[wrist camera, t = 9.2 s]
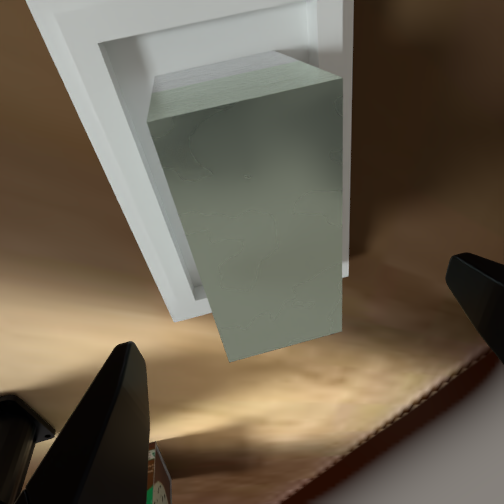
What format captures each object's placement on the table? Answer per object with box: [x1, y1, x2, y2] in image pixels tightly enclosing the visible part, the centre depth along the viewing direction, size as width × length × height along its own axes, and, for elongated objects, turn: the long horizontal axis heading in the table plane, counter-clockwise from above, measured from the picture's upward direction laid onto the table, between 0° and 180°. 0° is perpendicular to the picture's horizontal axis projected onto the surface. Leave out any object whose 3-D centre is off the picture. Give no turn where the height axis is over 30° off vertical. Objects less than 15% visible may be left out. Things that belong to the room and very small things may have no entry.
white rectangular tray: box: [26, 0, 354, 322], centre depth 17 cm, size 18×12×3 cm, turn 9°
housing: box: [147, 50, 343, 362], centre depth 14 cm, size 5×10×7 cm, turn 9°
